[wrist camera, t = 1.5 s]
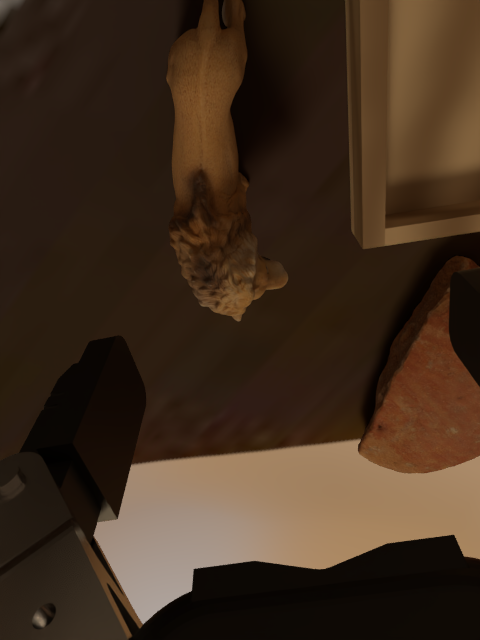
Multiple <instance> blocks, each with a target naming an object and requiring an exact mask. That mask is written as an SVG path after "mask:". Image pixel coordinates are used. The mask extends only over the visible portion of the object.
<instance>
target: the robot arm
mask: <svg viewBox="0 0 480 640" xmlns="http://www.w3.org/2000/svg"><path fill="white" fill-rule="evenodd" d="M449 336H450V341H451V344H452V347H453V349H454V352H455V353H456V355H457V356H458V358H459V359H460V360H461V362H462V363H463V365H464V366H465V367H466V369H467V370H468V372H469V373H470V374H471V376H472V377H473V379H474V380H475V381H476V383H477V384H478V386H479V387H480V267H478V268H473V269H468V270H462V271H457V272H454V273H453V274H452V276H451V280H450V302H449ZM145 407H146V392H145V387H144V383H143V381H142V378H141V376H140V374H139V371H138V369H137V367H136V364H135V362H134V360H133V357H132V355H131V353H130V350H129V348H128V346H127V343H126V341H125V340H124V338H123V337H121V336H114V337H109V338H104V339H98V340H93V341H90V342H89V343H88V345H87V347H86V349H85V351H84V353H83V355H82V357H81V359H80V361H79V363H76V364H73V365H72V366H71V367H70V368H69V369H68V370H67V371H66V372H65V373H64V374H63V375H62V376H61V377H60V378H59V379H58V381H57V383H56V384H55V386H54V388H53V390H52V392H51V397H49V398H48V399H47V401H46V403H45V405H44V410H42V411H41V413H40V414H39V416H38V418H37V420H36V422H35V424H34V426H33V428H32V430H31V431H30V433H29V435H28V437H27V439H26V441H25V443H24V445H23V446H22V448H21V450H20V452H19V453H18V454H14V455H11V456H9V457H7V458H5V459H3V460H1V461H0V640H480V559H476V558H470V557H464V556H463V554H462V551H461V549H460V547H459V545H458V542H457V540H456V538H455V536H454V535H449V536H442V537H434V538H426V539H419V540H411V541H404V542H396V543H388V544H385V545H383V546H380V547H378V548H376V549H373V550H371V551H368V552H366V553H363V554H361V555H359V556H356V557H354V558H351V559H349V560H346V561H344V562H342V563H339V564H337V565H335V566H332V567H330V568H326V569H320V570H319V569H310V568H302V567H295V566H288V565H280V564H273V563H265V562H259V561H251V562H243V563H236V564H228V565H220V566H214V567H206V568H198V569H194V574H193V585H192V591H191V592H189V593H187V594H184V595H182V596H181V597H179V598H177V599H175V600H174V601H172V602H170V603H169V604H167V605H166V606H165V607H163V608H162V609H161V610H159V611H158V612H157V613H155V614H154V615H153V616H152V617H151V618H150V619H149V620H148V621H147V622H145V623H144V624H142V623H141V621H140V619H139V618H138V616H137V614H136V613H135V611H134V609H133V607H132V606H131V604H130V602H129V600H128V598H127V596H126V594H125V592H124V591H123V589H122V587H121V585H120V583H119V581H118V579H117V578H116V576H115V574H114V572H113V570H112V568H111V566H110V564H109V563H108V561H107V559H106V557H105V555H104V553H103V551H102V550H101V548H100V546H99V544H98V542H97V541H96V539H95V538H94V536H93V535H94V532H95V528H96V525H97V522H102V521H109V520H116V519H118V515H119V511H120V507H121V503H122V499H123V495H124V491H125V487H126V483H127V479H128V474H129V471H130V467H131V463H132V459H133V455H134V451H135V447H136V443H137V439H138V435H139V431H140V427H141V423H142V419H143V415H144V411H145Z"/></svg>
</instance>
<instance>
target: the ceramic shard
mask: <svg viewBox="0 0 480 640" xmlns="http://www.w3.org/2000/svg"><path fill="white" fill-rule="evenodd" d="M478 267H479V266H478V265H477V264H476V263H475V262H474V261H472V260H471V259H469V258H466V257H463V256H454V257H452V258H451V259H450V260H448V261H447V262H446V263H445V265H444V266H443V268H442V269H441V270H440V271H439V272H438V274H437V275H436V277H435V278H434V280H433V281H432V283H431V285H430V288H429V289H428V291H427V292H426V294H425V295H424V297H423V299H422V301H421V302H420V303H419V304H418V306H417V307H416V308H415V310H414V311H413V314H412V316H411V317H410V319H409V320H408V321H407V322H406V323H405V325H404V327H403V329H402V330H401V331H400V332H399V333H398V335H397V336H396V338H395V339H394V341H393V343H392V345H391V347H390V355H389V356H388V361H387V364H386V366H385V368H384V370H383V371H382V373H381V375H380V377H379V380H378V384H377V389H376V406H375V411H374V414H373V416H372V418H371V420H370V422H369V424H368V426H367V427H366V429H365V432H364V434H363V436H362V439H361V442H360V443H359V445H358V452H359V454H360V455H362V456H363V457H365V458H367V459H368V460H369V461H371V462H373V463H375V464H377V465H379V466H382V467H385V468H388V469H392V470H394V471H397V472H402V473H428V472H433V471H438V470H442V469H445V468H448V467H452V466H455V465H458V464H461V463H463V462H466V461H469V460H471V459H474V458H476V457H478V456H480V387H479V386H478V384H477V383H476V381H475V380H474V379H473V377H472V376H471V374H470V373H469V372H468V370H467V369H466V367H465V366H464V365H463V363H462V362H461V360H460V359H459V358H458V356H457V355H456V353H455V352H454V349H453V347H452V344H451V341H450V336H449V302H450V280H451V276H452V274H453V273H454V272H457V271H462V270H468V269H473V268H478Z"/></svg>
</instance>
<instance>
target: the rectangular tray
mask: <svg viewBox="0 0 480 640" xmlns="http://www.w3.org/2000/svg"><path fill="white" fill-rule="evenodd" d="M345 5H346V43H347V82H348V120H349V158H350V196H351V231H352V233H353V234H354V236H355V237H356V239H357V241H358V242H359V244H360V245H361V247H362V248H363V249H367V248H374V247H381V246H387V245H394V244H400V243H407V242H413V241H420V240H427V239H433V238H440V237H446V236H453V235H460V234H466V233H473V232H479V231H480V0H345Z"/></svg>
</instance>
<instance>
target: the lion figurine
mask: <svg viewBox="0 0 480 640" xmlns="http://www.w3.org/2000/svg"><path fill="white" fill-rule="evenodd" d="M222 18H223V22H224V24H225V26H227V29H223V30H222V29H221V28H220V22H219V13H218V0H204V3H203V8H202V13H201V16H200V19H199V24H198V28H196V29H190V30H188V31H186V32H185V33H184V34H183V35H181V36H180V37H179V38H178V39H177V40H176V41H175V42H174V44H173V45H172V47H171V49H170V53H169V58H168V72H167V76H166V80H167V83H168V84H169V86H170V88H171V92H172V96H173V101H174V107H175V125H174V137H173V153H172V174H173V183H174V189H175V194H176V198H177V199H176V201H175V204H174V216H173V217H172V219H171V221H170V224H169V231H170V238H171V240H170V244H171V246H173V247H174V248H175V251H176V255H177V258H178V262H179V264H180V265H181V268H182V270H181V273H182V275H183V276H184V278H186V279H187V281H188V284H189V285H190V286H191V287H193V288H192V291H193V293H194V295H195V296H196V297H197V298H198V299H199V304H200V305H201V306H207V307H209V308H210V309H211V310H212V311H214V312H216V313H220V314H225V315H229V316H232V317H233V318H234V319H235V320H237V321H240V320H241V316H242V314H243V313H244V312H245V310H246V307H247V306H248V305H250V303H251V301H252V300H255V299H258V298H259V297H260V296H261V295H263V293H264V291H265V290H267V289H277V288H281V287H283V286H284V285H285V284H286V282H287V281H288V275H287V273H286V272H285V271H284V268H283V266H282V265H281V264H280V263H279V262H277V261H274V260H270V259H268V258H265V257H262V256H260V255H259V254H258V251H257V238H256V237H255V236H254V235H253V234H252V231H251V219H250V215H249V213H248V211H247V209H246V190H247V188H248V186H249V182H248V180H247V179H246V178H245V177H244V176H243V175H242V174H241V173H240V172H238V151H237V144H236V138H235V132H234V126H233V121H232V117H231V113H230V107H231V104H232V101H233V98H234V96H235V93H236V92H237V90H238V88H239V87H240V85H241V83H242V80H243V77H244V71H245V65H246V61H247V47H246V41H245V35H244V28H243V22H244V20H245V18H246V12H245V8H244V4H243V2H242V0H224V2H223V7H222Z"/></svg>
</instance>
